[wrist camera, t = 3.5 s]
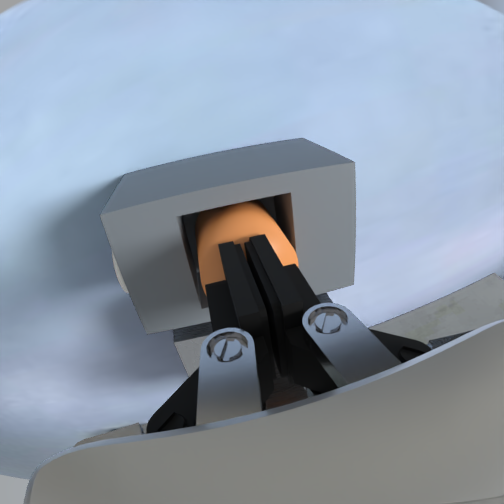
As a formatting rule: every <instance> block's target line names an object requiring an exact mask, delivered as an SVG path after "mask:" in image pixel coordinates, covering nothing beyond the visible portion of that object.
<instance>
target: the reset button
mask: <svg viewBox="0 0 504 504" xmlns="http://www.w3.org/2000/svg"><path fill="white" fill-rule="evenodd" d="M262 234H265V235H266V237H267V239H268V241H269V242H270V244H271V246H272V247H273V249H274V251H275V253H276V254H277V256H278V258H279V260H280V261H281V263H282V265H283V266H286V265H290V264H296V265H297V266H298V258H297V255H296V252H295V250H294V248H293V247H292V245H291V244H290V242H289V241H288V239H287V238H286V236H285V235H284V234H283V232H282V231H281V229H280V228H279V226H278V225H277V223H276V222H275V221H274V219H273V218H272V216H271V215H270V213H269V212H268V210H267V209H266V208H265V206H264V205H263V204H262V203H261V202H260V201H259V200H258V199H255V200H250V201H245V202H240V203H236V204H231V205H226V206H222V207H217V208H213V209H208V210H204V211H201V212H200V213H199V215H198V217H197V220H196V224H195V238H196V246H197V254H198V262H199V269H200V277H201V283H202V287H203V290H204V292H205V294H206V289H205V284H210V283H214V282H218V281H223V280H226V279H225V274H224V270H223V265H222V261H221V256H220V252H219V247H218V244H222V243H226V242H231V241H233V242H234V245H236V244H240V245H241V247H242V250H243V252H244V255H245V257H246V251H245V245H244V243H245V242H249V237H253V236H257V235H262ZM246 260H247V257H246ZM206 296H207V295H206Z"/></svg>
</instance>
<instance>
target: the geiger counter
mask: <svg viewBox="0 0 504 504" xmlns="http://www.w3.org/2000/svg"><path fill="white" fill-rule="evenodd" d="M502 319H504V280H503V279H501V278H500V277H499V276H498V275H497V274H495V273H493V274H491V275H489V276H487V277H485V278H483V279H481V280H479V281H477V282H475V283H473V284H471V285H469V286H467V287H464V288H462V289H460V290H458V291H456V292H454V293H452V294H449V295H447V296H445V297H443V298H440V299H438V300H436V301H434V302H431V303H429V304H427V305H424V306H422V307H420V308H417V309H415V310H413V311H410V312H408V313H405V314H403V315H400V316H398V317H395V318H393V319H390V320H388V321H385V322H383V323H380V324H377V325H375V326H372V327H369V329H373V330H377V331H381V332H385V333H389V334H393V335H397V336H401V337H406V338H410V339H414V340H418V341H420V342H423V343H425V344H428V342H429V340H433V339H437V338H442V337H446V336H450V335H455V334H459V333H463V332H467V331H471V330H476V329H478V328H480V327H482V326H485V325H487V324H490V323H492V322H495V321H498V320H502Z"/></svg>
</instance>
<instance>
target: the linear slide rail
mask: <svg viewBox="0 0 504 504" xmlns="http://www.w3.org/2000/svg"><path fill="white" fill-rule="evenodd" d="M255 199H258V200H259V201H260V202H261V203H262V204H263V205H264V206H265V208H266V209H267V210H268V212H269V213H270V215H271V216H272V218H273V219H274V221H275V222H276V223H277V225H278V226H279V228H280V229H281V231H282V232H283V234H284V235H285V236H286V238H287V239H288V241H289V242H290V244H291V245H292V247H293V248H294V250H295V252H296V255H297V258H298V268H299V270H300V271H301V273H302V274H303V276H304V277H305V279H306V281H307V282H308V284H309V285H310V287H311V288H312V290H313V292H314V293H315V295H318V294H322V293H326V292H329V291H333V290H336V289H340V288H344V287H347V286H351V285H354V270H355V238H356V182H355V162H354V161H352V160H350V159H348V158H345V157H343V156H341V155H339V154H337V153H335V152H333V151H331V150H329V149H326V148H324V147H322V146H320V145H318V144H315V143H313V142H311V141H309V140H306V139H304V138H299V139H292V140H285V141H278V142H272V143H266V144H260V145H254V146H248V147H242V148H237V149H232V150H226V151H221V152H216V153H211V154H206V155H202V156H197V157H192V158H188V159H183V160H179V161H175V162H170V163H166V164H162V165H158V166H154V167H150V168H146V169H142V170H138V171H135V172H131V173H127V174H124V176H123V177H122V179H121V181H120V182H119V184H118V185H117V187H116V189H115V190H114V192H113V194H112V195H111V197H110V198H109V200H108V202H107V204H106V205H105V207H104V209H103V210H102V212H101V214H100V218H101V221H102V223H103V226H104V229H105V232H106V235H107V238H108V241H109V243H110V246H111V249H112V258H113V264H114V269H115V272H116V276H117V278H118V281H119V283H120V285H121V287H122V289H123V290H124V291H125V292H126V293H129V295H130V297H131V299H132V302H133V304H134V306H135V309H136V311H137V313H138V315H139V318H140V320H141V322H142V324H143V327H144V329H145V331H146V333H147V335H148V334H153V333H158V332H163V331H168V330H173V329H177V328H182V327H187V326H191V325H196V324H201V323H205V322H210V321H211V319H210V313H209V307H208V301H207V296H206V294H205V292H204V290H203V287H202V283H201V277H200V269H199V262H198V254H197V246H196V238H195V224H196V220H197V217H198V215H199V213H200V212H201V211H204V210H208V209H213V208H217V207H222V206H226V205H231V204H236V203H240V202H245V201H250V200H255Z"/></svg>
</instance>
